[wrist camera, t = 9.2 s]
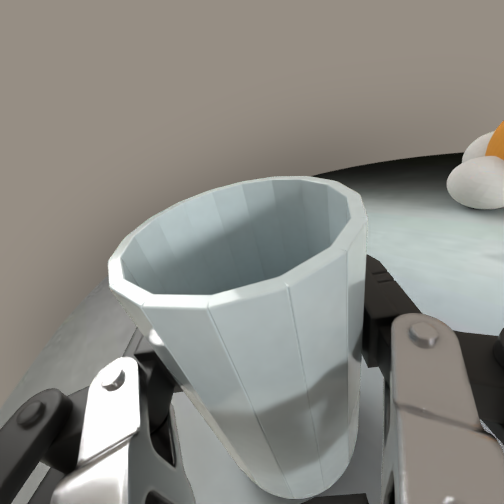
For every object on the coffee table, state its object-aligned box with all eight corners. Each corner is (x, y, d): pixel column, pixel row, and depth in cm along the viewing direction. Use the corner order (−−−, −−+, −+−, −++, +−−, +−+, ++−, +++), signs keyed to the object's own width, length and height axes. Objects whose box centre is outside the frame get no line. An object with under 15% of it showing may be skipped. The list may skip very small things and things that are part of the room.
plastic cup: (232, 519, 8) (41, 354, 3) (225, 369, 13) (144, 207, 8) (387, 475, 9) (451, 243, 3) (323, 342, 13) (306, 163, 8)
